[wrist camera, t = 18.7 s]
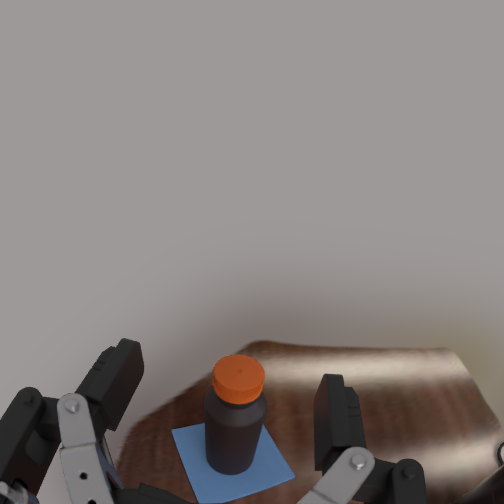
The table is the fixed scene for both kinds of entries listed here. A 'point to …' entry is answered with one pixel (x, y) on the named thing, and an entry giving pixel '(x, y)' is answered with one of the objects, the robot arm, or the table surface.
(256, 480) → the blue mat
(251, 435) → the bottle
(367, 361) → the table surface
